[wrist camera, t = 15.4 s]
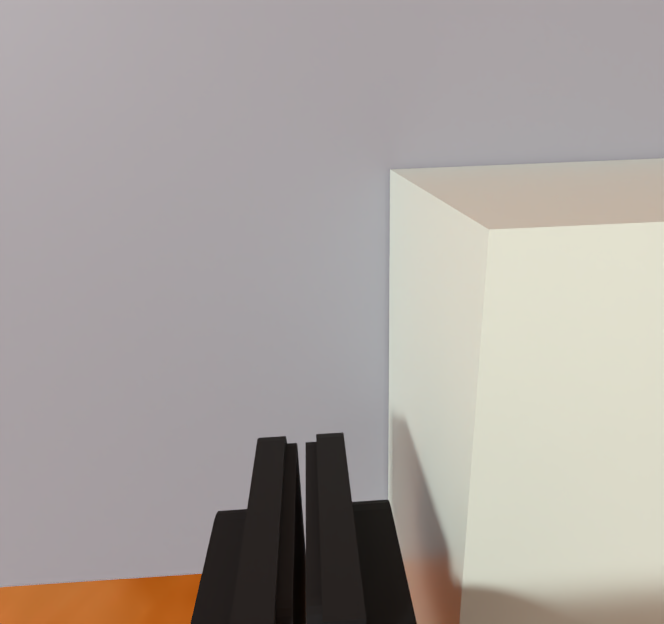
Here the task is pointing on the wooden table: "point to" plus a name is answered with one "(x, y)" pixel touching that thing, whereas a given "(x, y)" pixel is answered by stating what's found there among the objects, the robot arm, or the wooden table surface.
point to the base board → (245, 234)
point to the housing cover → (528, 391)
